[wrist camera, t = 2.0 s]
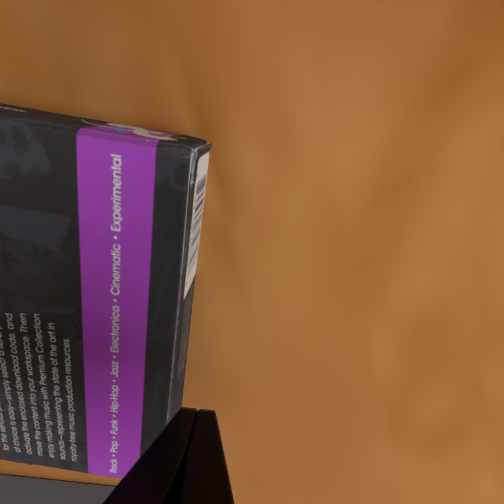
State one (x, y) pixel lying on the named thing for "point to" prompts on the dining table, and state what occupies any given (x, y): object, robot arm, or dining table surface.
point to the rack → (50, 491)
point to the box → (93, 286)
